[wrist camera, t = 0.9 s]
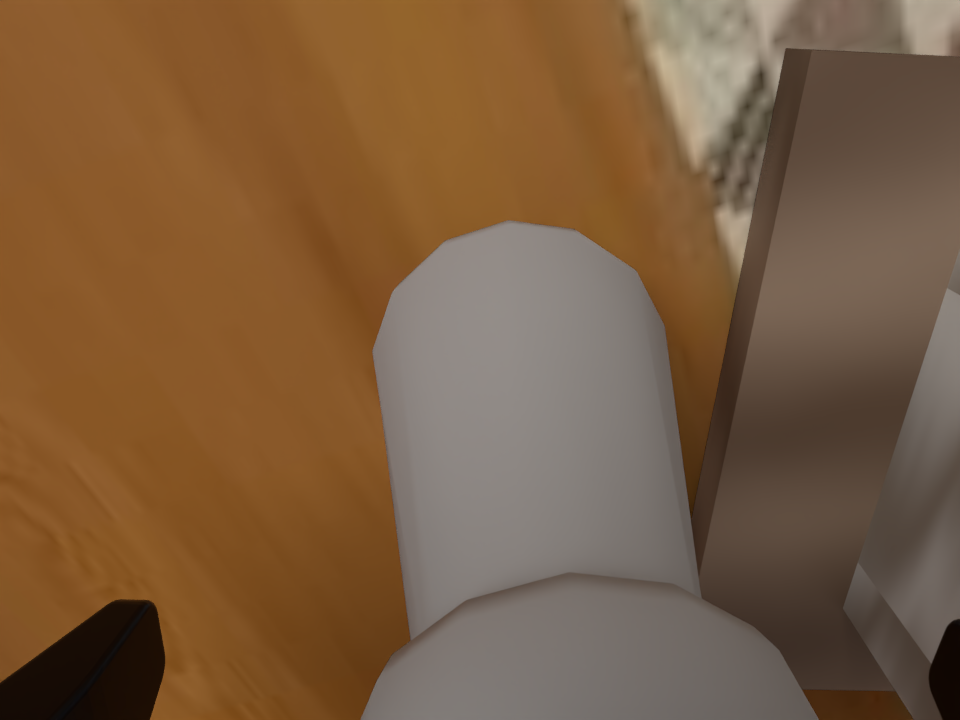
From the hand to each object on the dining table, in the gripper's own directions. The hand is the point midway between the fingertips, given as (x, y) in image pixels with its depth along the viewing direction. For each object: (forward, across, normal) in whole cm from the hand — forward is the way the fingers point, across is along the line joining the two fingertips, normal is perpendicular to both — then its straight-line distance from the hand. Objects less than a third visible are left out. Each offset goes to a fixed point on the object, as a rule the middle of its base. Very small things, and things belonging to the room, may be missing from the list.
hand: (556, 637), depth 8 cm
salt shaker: (+10, 0, 0) cm, 10 cm away
